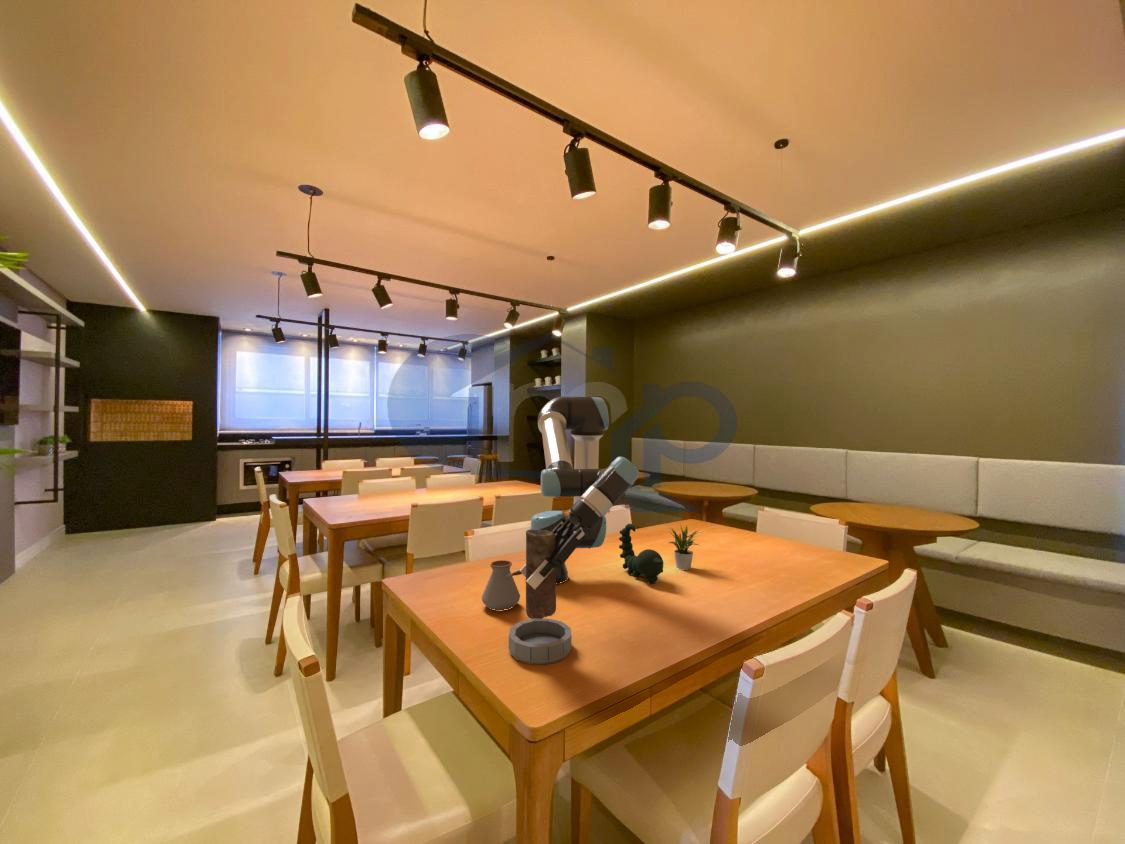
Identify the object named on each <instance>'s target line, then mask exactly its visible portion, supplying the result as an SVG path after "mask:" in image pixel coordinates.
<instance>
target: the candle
mask: <svg viewBox="0 0 1125 844" xmlns="http://www.w3.org/2000/svg"><path fill="white" fill-rule="evenodd" d="M554 550H555V534H554V533H552V532H550V531H547V530H530V529H527V530H526V531H525V564H526V579H525V612H526V615H527V617H528V618H529V619H543V618H547V617H552V616H553V615H554V614H555V612H556V611H557V585H556V571H555V568H554V569H553V570H552V571H551V572H550V573H549V574H548V575H547V576H546V578H545V579H544V580H543V581H542V582H541V583H540V584H539V585H538V587H537V588H536V589H534V588H533V587H532V586H531V585H529V584H528V583H527V582H526V581H527V579H528V578H529V577H530V576H531V575H532V574H533V573H534V572H535V571H536V569H537V568H538V567H539V566H540V565H541V564H542V563H543V562H544V560H545V558H546V557H550V556H551V554H552V553H553V551H554Z"/></svg>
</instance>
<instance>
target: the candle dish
mask: <svg viewBox="0 0 1125 844" xmlns="http://www.w3.org/2000/svg"><path fill="white" fill-rule="evenodd" d="M572 639H573V637H572V627H570V626H569V625H567V624H566V623H565V622H563V621H561V620H558V619H557V620H556V619H552V618H547V617H544V618H542V619H531V618H529V619H527V620H522V621H518V622H517V623H516V624H514V625H513V626H512V627H510V628H509V631H508V651H510V652H509V654H510V653H511V654H510V655H512V656H513V657H514V658H513V657H512V656H511V657H512V658H513V659H515V658H516V659H518V660H519V661H518V660H517V661H518V662H520V661H522V662H521V663H523V662H525V663H524V664H527V663H530V664H529V665H534V664H544V665H550V663H551V664H554V662H555V663H558V662H561V661H562V659H563V660H564V659H566V658H567V657H569V655H570V654H571V652H570V651H572ZM569 653H570V654H569ZM565 657H566V658H565ZM516 659H515V660H516ZM557 661H558V662H557Z"/></svg>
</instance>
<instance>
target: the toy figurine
mask: <svg viewBox="0 0 1125 844" xmlns="http://www.w3.org/2000/svg"><path fill="white" fill-rule="evenodd" d="M631 531H633V532H634V533H635V532H636V526H635V525H634V524H632V523H627V524H626V525H625V527H624V528H622V529H621V530H619V534H620V535H621V536H620V537H618V540H619V541H620V542H621V544H619V545H618V548H619V549H621V550H622V552H621V553H620V554H619V557H620V558H621V559H624V563H623V564H622V568H623V569H624V570H627V571H626V573H627V574H628V575H629V574H632V576H633V577H634V578H637V579H638V578H639V577H640V576H643V577H645V578H646V579H645V580H646V582H647V584H656V583H657V582H658V581H659V577H658V576H659V575H660V574H663V572H664V560H663V557H662V556H661V554H660V553H659V552H657V551H656V550H655V549H651V548H649V549H647V548H646V549H644V550H642V551H641V552H639V554H638V555H635V551H634V548H633V543H632V536H631Z"/></svg>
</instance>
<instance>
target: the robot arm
mask: <svg viewBox="0 0 1125 844" xmlns="http://www.w3.org/2000/svg"><path fill="white" fill-rule="evenodd" d="M609 425H610V417H609V410H608V405H607V403H606V401H605V399H604V398H602V397H600V396H599V397H598V396H597V397H596V396H558V397H555V398H552V399H550V400H549V401H548V402H547V403H545V405H543V406H542V408H541V409H540V411H539V413H538V417H537V427H538V430H539V432H540V433H541V435H542V444H543V451H544V461H545V469H542V470H541V472H540V492H541V495H542V496H543V497H551V498H563V497H564V498H567V497H569V498H571V497H573V505H572V506H571V507H570V508H569V510H568V513H569V514H566V515H565V514H564V512H563V511H562V510H548V511H542V512H539V513H536V514H534V515H533V516H532V517H531V518H530V519H531V520H530V527H529V530H547V531H550V532H552V533H554V534H555V550H554V551H553V553H552V554H551V556H550V557H546V558H545V560H544V562H543V563H542V564H541V565H540V566H539V567H538V568H537V569H536V571H535V572H534V573H533V574H532V575H531V576H530V577H529V578H528V579H527V581H526V580H525V583H526V582H527V583H528V584H529V585H531V586H532V587H533V588H534V589H536V588H537V587H538V585H539V584H540V583H541V582H542V581H543V580H544V579H545V578H546V576H547V575H548V574H549V573H550V572H551V571H552V570H553V569H554V568H555V571H556V583H560V582H563V581H565V580H567V581H568V579H569V577H568V576H569V572H568V568H567V564H566V562H567V560H569V558H570V557H571V555H572V554H573V553H574V552H575V550H576V549H593V548H599V547H601V546H602V545H603V544H604V541H605V539H606V534H607V519H606V518H607V517H606V515H607V513H610V512H611V509H612V508H613V507H614V505H616V503H617V502H618V501H619V500H620V499H621V498H622V496H623V495H624V494H625V493H626V492H627V491H628V490H629V489H630V488H631V487H632V486H633V485H634V484H635V482H636V480H637V479H638V478H639V476H640V472H639V471H640V470H639V469H638V468H637V467H636V465H635V464H634V463H632V461H630V460H629V459H628V458H626V457H624V456H617V457H616V458H614V460H613V461H611V463H610V464H609V465H608V467H605V468H599V457H600V456H599V454H600V453H599V452H600V451H599V450H600V440H601V438H603V437H604V431H607V430H608V428H609ZM566 430H567V431H568V430H569V431H570V436H571V437H572V438H573V439H574V458H573V459H574V467H573V462H572V458H571V454H570V453H571V452H570V448H569V443H568V439H567V434H566ZM519 570H520V572H521V573H522V574H521V575H523V576H524V578H525V577H526V563H525V564H524V565H523V566H522V567H521V568H520V569H519ZM567 578H568V579H567ZM565 582H566V581H565ZM563 583H564V582H563Z"/></svg>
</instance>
